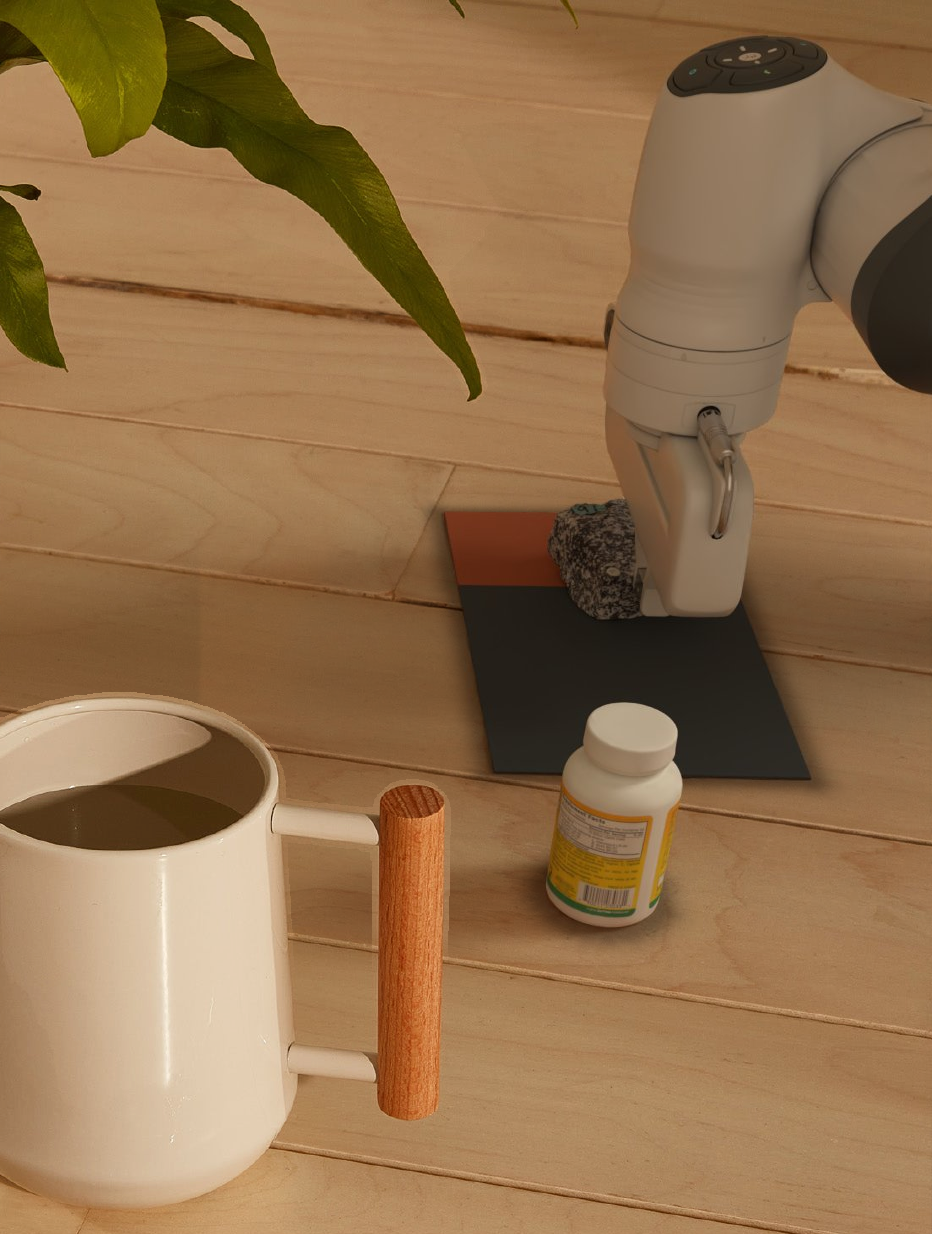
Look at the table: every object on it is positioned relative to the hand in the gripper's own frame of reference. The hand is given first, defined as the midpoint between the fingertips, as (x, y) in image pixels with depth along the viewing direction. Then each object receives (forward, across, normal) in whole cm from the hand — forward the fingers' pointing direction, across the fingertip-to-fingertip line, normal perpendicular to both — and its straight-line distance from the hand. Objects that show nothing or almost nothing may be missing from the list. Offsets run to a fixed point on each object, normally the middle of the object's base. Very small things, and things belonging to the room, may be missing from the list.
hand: (651, 603), depth 120 cm
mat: (+2, 0, +2) cm, 3 cm away
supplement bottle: (+2, -24, +6) cm, 25 cm away
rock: (+2, +6, 0) cm, 7 cm away
